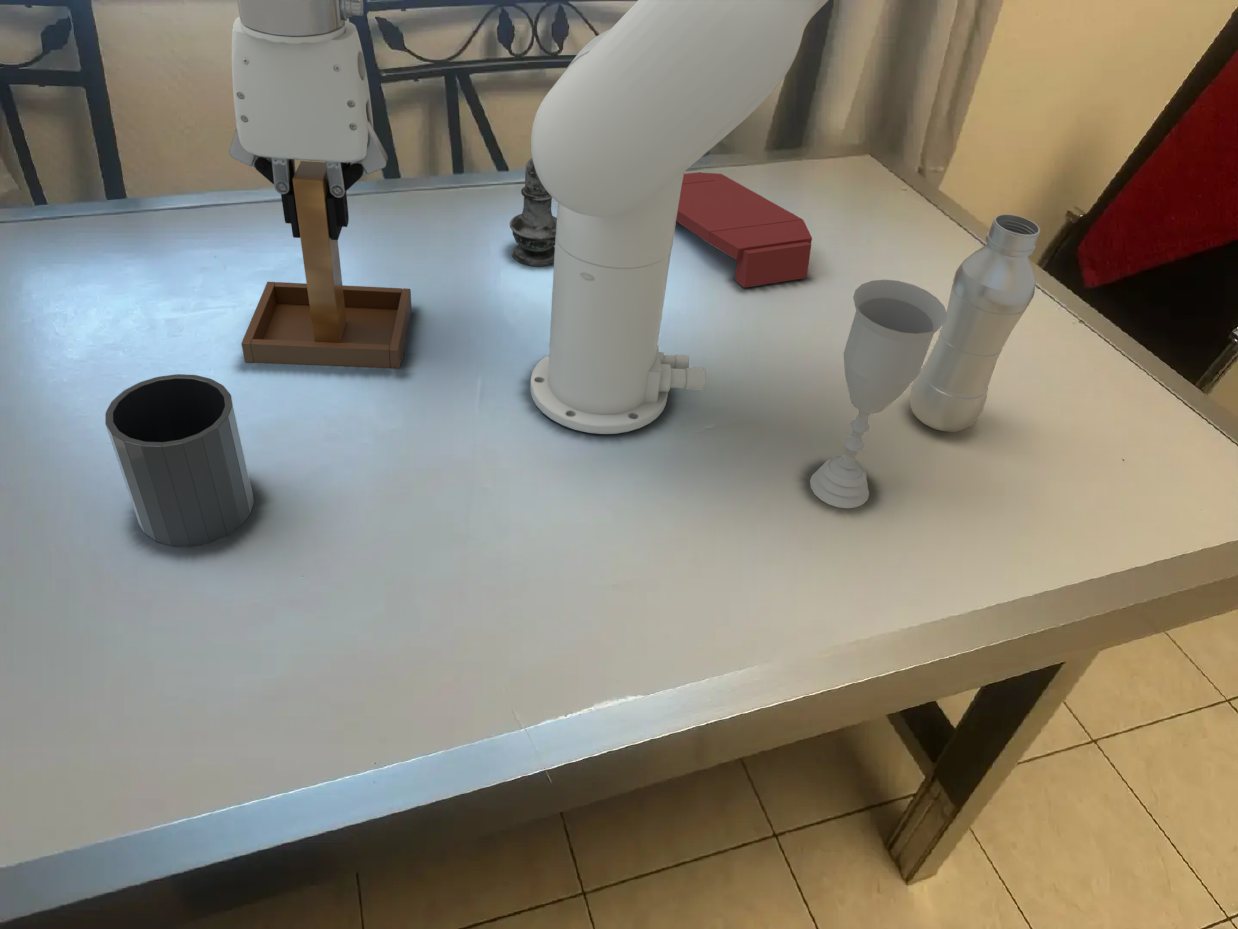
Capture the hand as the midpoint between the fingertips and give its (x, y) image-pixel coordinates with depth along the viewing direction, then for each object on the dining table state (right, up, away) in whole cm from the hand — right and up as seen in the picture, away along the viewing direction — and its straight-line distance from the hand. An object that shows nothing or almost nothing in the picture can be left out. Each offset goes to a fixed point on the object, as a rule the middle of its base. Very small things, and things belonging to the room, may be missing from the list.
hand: (318, 229), depth 83 cm
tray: (-1, -8, +7) cm, 11 cm away
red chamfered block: (+38, +7, +31) cm, 50 cm away
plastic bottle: (+56, -16, +7) cm, 59 cm away
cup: (-6, -24, -11) cm, 27 cm away
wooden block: (-1, -8, +7) cm, 11 cm away
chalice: (+45, -23, -2) cm, 50 cm away
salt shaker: (+17, +3, +23) cm, 29 cm away
